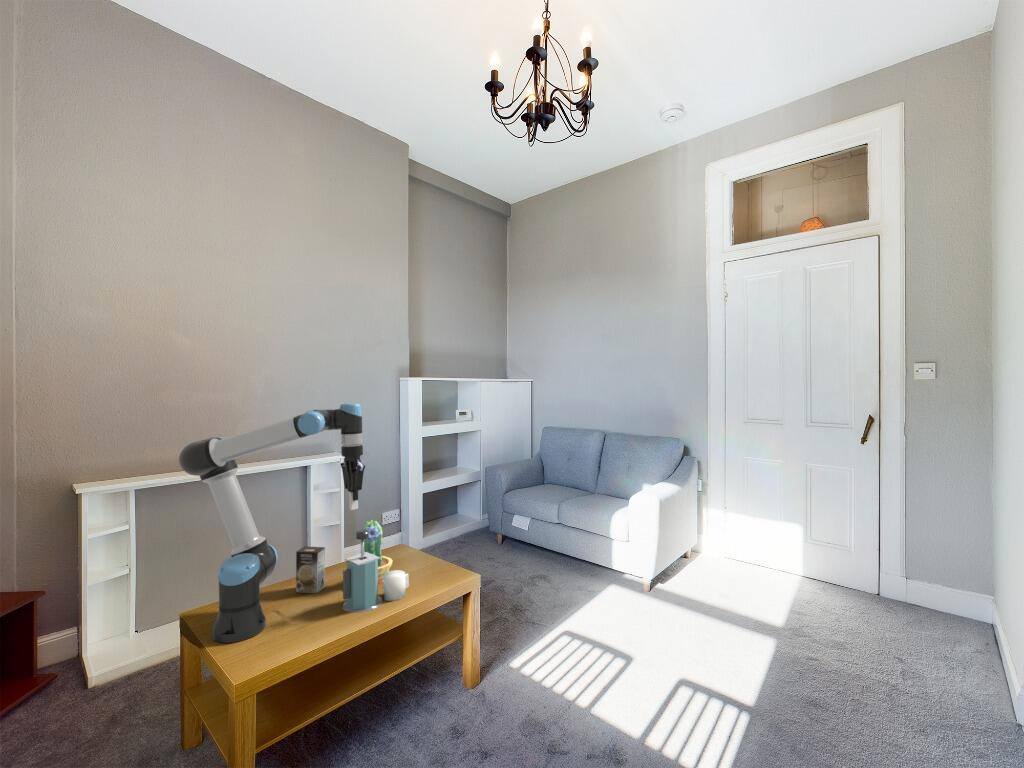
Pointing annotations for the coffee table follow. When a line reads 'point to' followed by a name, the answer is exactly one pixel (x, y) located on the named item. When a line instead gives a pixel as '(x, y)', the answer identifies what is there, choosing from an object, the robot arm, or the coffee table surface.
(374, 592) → the carafe
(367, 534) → the plunger
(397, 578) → the mug
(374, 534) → the potted cactus
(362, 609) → the trivet
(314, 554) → the coffee box
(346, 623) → the coffee table surface
